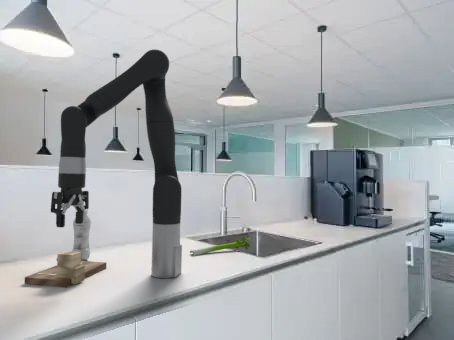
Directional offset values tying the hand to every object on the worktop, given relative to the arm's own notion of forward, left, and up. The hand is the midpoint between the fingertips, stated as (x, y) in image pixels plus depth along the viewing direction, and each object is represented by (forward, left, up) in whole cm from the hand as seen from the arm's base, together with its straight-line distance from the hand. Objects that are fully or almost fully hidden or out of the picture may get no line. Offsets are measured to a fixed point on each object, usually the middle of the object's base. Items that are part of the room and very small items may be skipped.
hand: (70, 225), depth 97 cm
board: (+5, -7, -17) cm, 19 cm away
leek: (-37, -53, -18) cm, 67 cm away
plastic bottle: (+13, -24, -18) cm, 32 cm away
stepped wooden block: (0, 0, -17) cm, 17 cm away
